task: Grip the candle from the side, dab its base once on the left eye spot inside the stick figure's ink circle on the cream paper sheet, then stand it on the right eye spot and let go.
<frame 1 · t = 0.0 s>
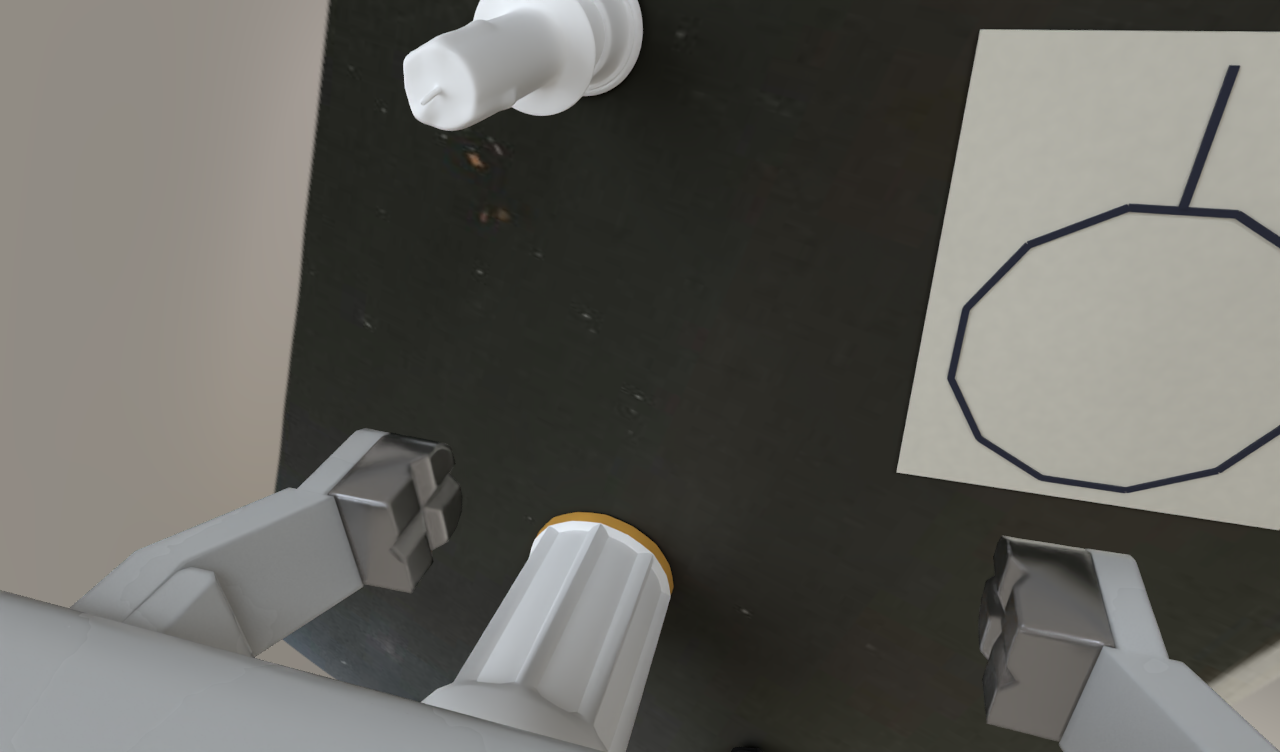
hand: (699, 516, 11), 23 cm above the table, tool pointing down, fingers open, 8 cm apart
cup: (604, 564, 48), on the table
smartwatch: (751, 751, 54), on the table
sketch sheet: (1145, 305, 30), on the table
candle: (581, 25, 31), on the table
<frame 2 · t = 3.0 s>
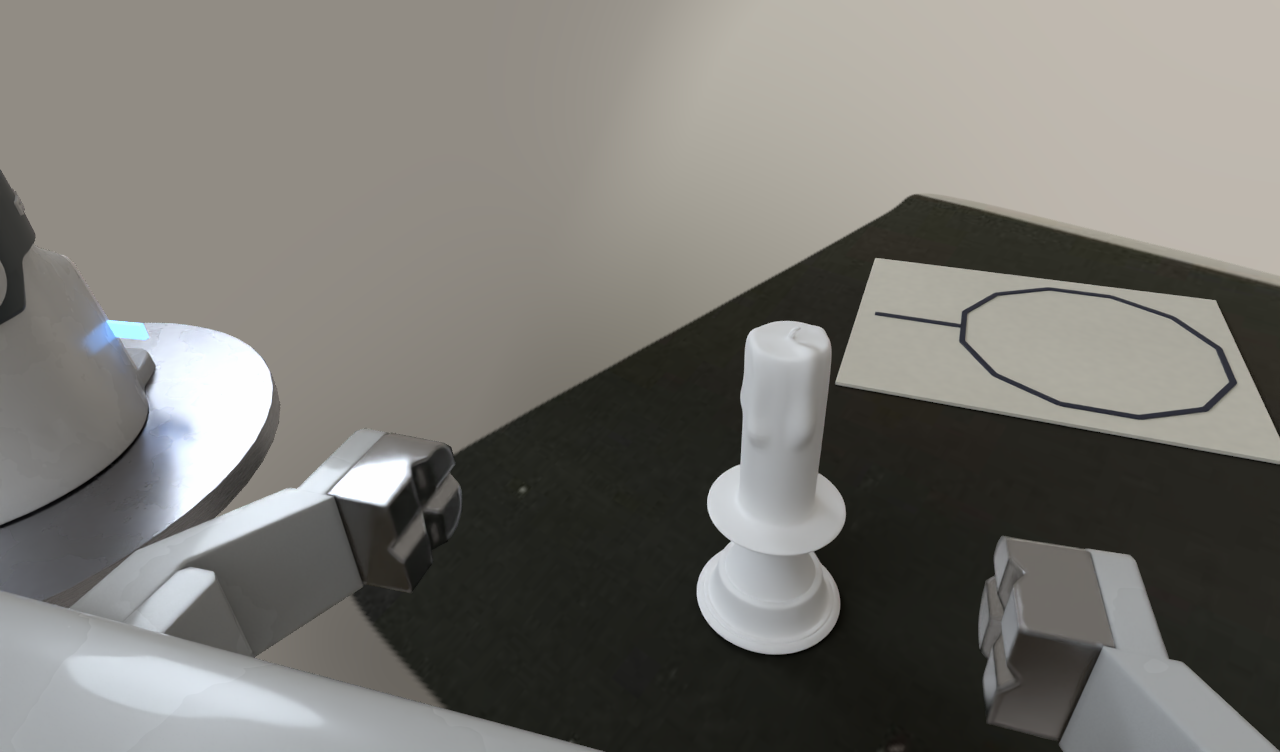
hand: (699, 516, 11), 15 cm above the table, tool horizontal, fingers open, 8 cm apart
sketch sheet: (1037, 341, 43), on the table
candle: (767, 599, 29), on the table
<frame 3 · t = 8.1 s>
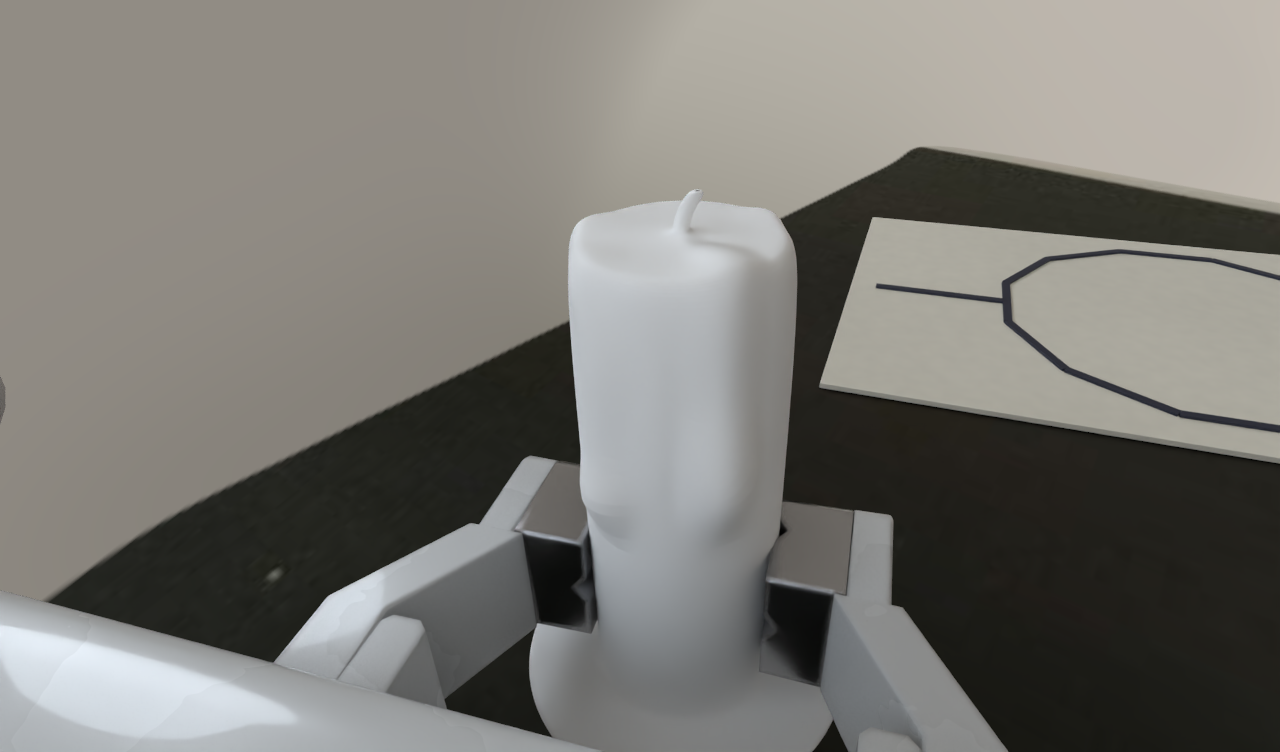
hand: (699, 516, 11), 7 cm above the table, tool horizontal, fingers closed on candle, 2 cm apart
sketch sheet: (1119, 321, 29), on the table
when the fingers open (7 cm above the table, at t = 19.6 s): candle stays where it is, resting on sketch sheet.
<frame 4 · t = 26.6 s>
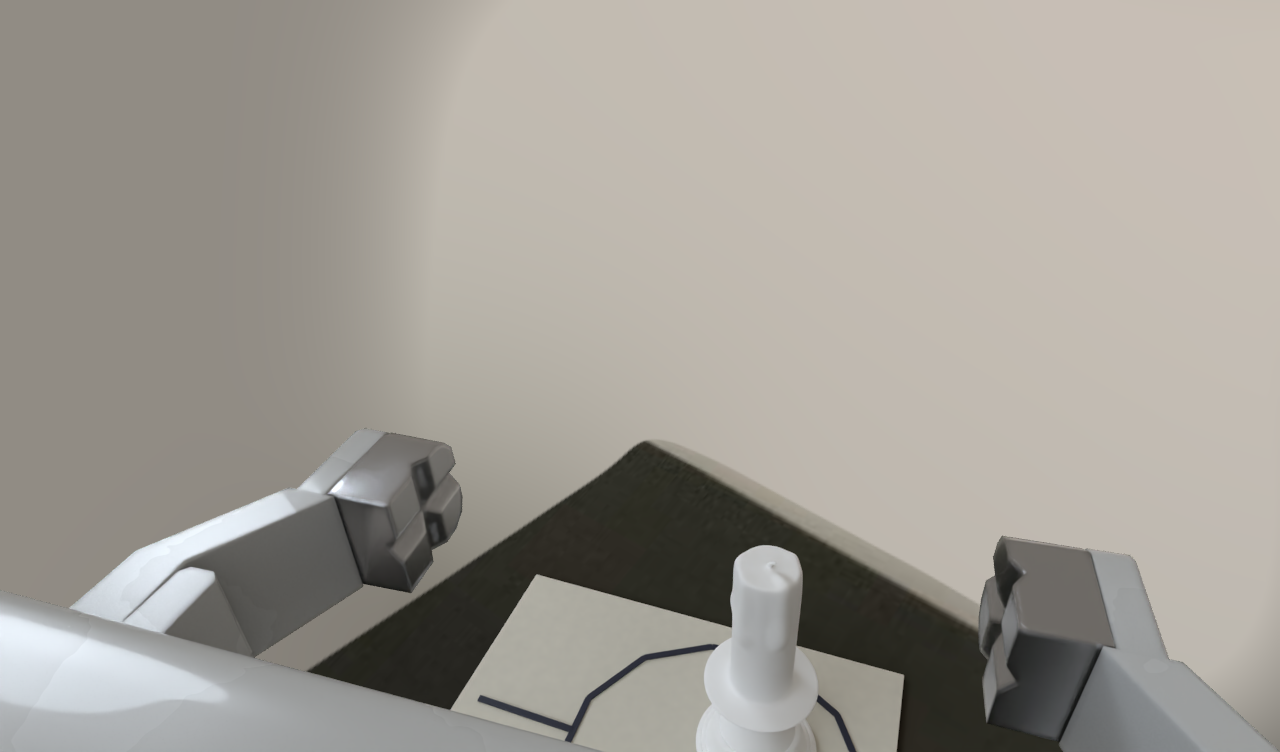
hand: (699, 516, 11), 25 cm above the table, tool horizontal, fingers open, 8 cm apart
candle: (755, 747, 34), resting on sketch sheet
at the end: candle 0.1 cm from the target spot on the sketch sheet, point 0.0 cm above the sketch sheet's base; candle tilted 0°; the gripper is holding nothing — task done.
